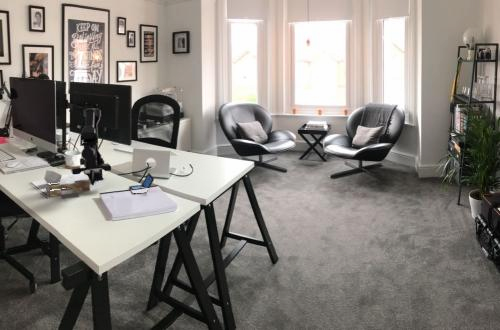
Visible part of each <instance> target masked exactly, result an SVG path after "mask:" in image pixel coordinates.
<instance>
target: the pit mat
mask: <svg viewBox="0 0 500 330" xmlns="http://www.w3.org/2000/svg"><path fill="white" fill-rule="evenodd" d="M77 197H78V198H79V197H80V193H76V192H73V193H72V192H71V193H66V194H65V193H64V194H62V195H60V198H61V199H70V198H71V199H72V198H77Z"/></svg>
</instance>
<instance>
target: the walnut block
mask: <svg viewBox="0 0 500 330" xmlns="http://www.w3.org/2000/svg"><path fill="white" fill-rule="evenodd" d="M74 183H75V188H74V189H76V188H79V187H82V192H86V191H88V192H89V191H91V188H90V187H91V186H90V184H91V182H90V180H88V179H79V180H74Z"/></svg>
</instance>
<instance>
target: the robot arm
mask: <svg viewBox="0 0 500 330" xmlns="http://www.w3.org/2000/svg"><path fill="white" fill-rule="evenodd" d="M83 117H84V118H85V124H84V127H83V128H82V130H81V132H80V135H79V136H80V139H79V140H80V143H79V144H80V145H79V146H80V147H83V149H82V151H81V157H82V158H79V165H77V166H72V167H71V168H70V172H71V174H72V175H80V174H81V173H83V174H84V175H85V176H87V177H88V179H89V180H88V181H89V183H90V184H91V185H92V186H94V185H95V181H100V180H101V181H102V180H104V178H103V176H104V175H103V171H104V172H110V171H112V166H111V164H109V163H105V160H104V158H103V156H102V154H101V153H100V150H99V134H98V131H99V130H98V124H99V122H100V120H101V117H102V111H101V109H99V108H97V107H96V108H95V107H94V108H91V107H90V108H86V109H83ZM80 165H81V166H83V167H80Z"/></svg>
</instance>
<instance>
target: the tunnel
mask: <svg viewBox="0 0 500 330" xmlns="http://www.w3.org/2000/svg"><path fill="white" fill-rule="evenodd" d="M62 188H66V189H65V190H68V189H67V188H73V189H75V182H74V183H73V182H72V183H63V184H62V183H61V184H55V185H48V184H47V185H46V184H45V192H46V191H47V192H46V195H47V197H48V198H50V197H54V196H53V195H59V196H61V195H63V194H62V190H54V191H50V190H52V189H62ZM75 191H76V192H75V193H78V194H82V193H83V191H82V187H79V188H76V190H75Z"/></svg>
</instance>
